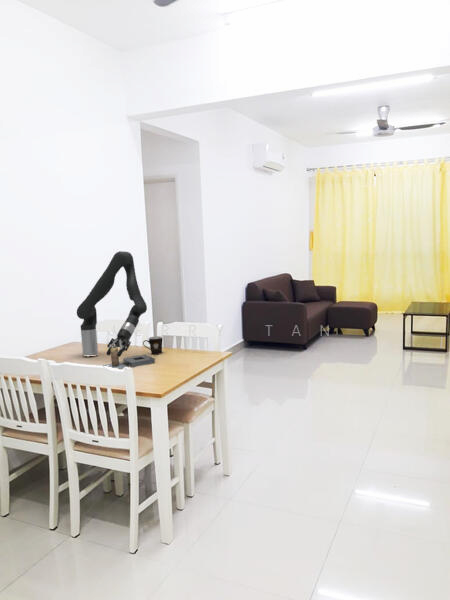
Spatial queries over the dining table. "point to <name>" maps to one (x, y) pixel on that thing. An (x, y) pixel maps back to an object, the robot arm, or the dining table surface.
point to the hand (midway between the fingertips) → (112, 355)
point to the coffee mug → (155, 344)
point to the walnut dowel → (114, 357)
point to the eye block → (138, 360)
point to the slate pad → (117, 366)
